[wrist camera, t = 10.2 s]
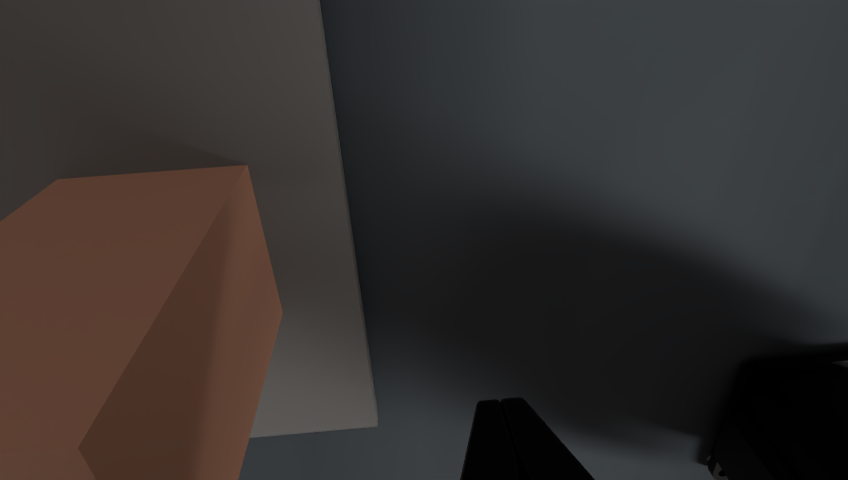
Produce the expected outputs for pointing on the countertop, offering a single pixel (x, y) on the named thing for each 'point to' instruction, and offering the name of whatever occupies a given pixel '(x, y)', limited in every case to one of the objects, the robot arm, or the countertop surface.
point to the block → (134, 327)
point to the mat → (206, 155)
